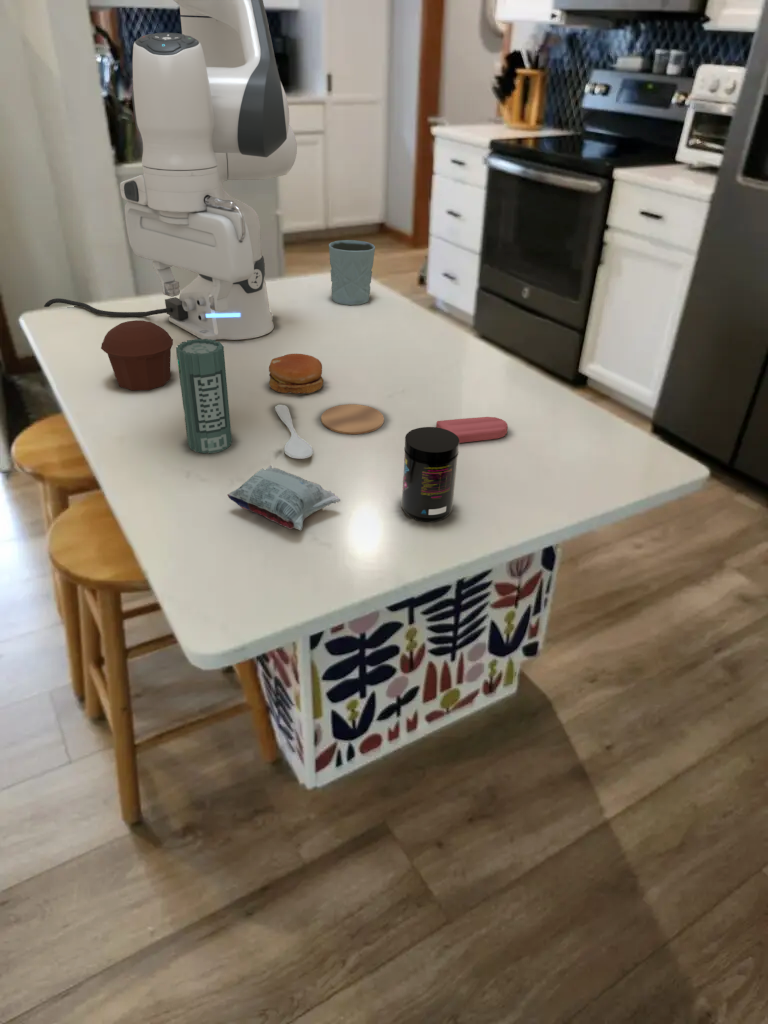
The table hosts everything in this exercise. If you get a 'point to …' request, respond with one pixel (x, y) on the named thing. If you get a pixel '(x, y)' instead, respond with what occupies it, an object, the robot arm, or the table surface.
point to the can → (204, 395)
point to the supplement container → (429, 473)
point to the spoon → (293, 437)
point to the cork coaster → (352, 419)
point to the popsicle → (475, 428)
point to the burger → (295, 374)
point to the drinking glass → (351, 271)
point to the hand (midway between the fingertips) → (194, 302)
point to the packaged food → (282, 497)
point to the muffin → (139, 354)
